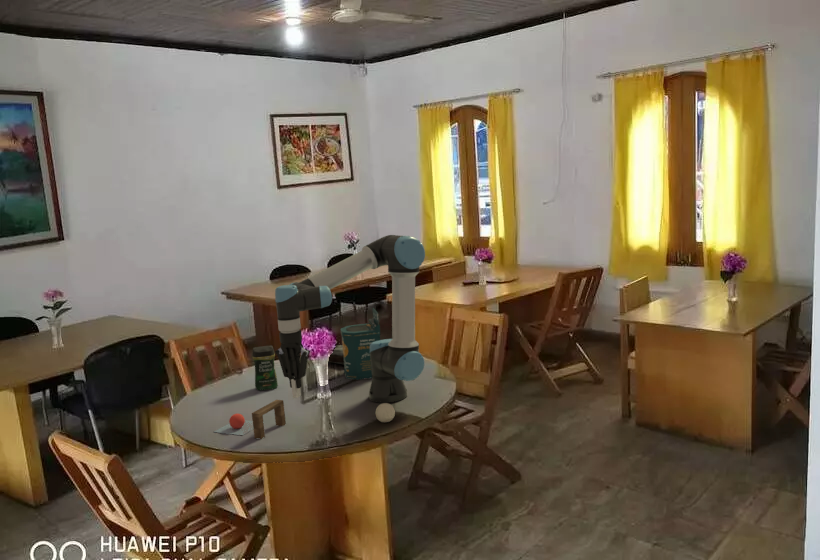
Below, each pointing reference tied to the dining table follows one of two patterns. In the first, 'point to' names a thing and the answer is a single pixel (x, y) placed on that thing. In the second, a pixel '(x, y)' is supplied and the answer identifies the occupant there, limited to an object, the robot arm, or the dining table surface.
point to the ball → (236, 421)
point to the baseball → (385, 412)
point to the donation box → (359, 347)
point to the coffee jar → (264, 368)
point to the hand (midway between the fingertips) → (296, 396)
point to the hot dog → (337, 355)
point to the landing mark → (230, 430)
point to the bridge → (258, 415)
